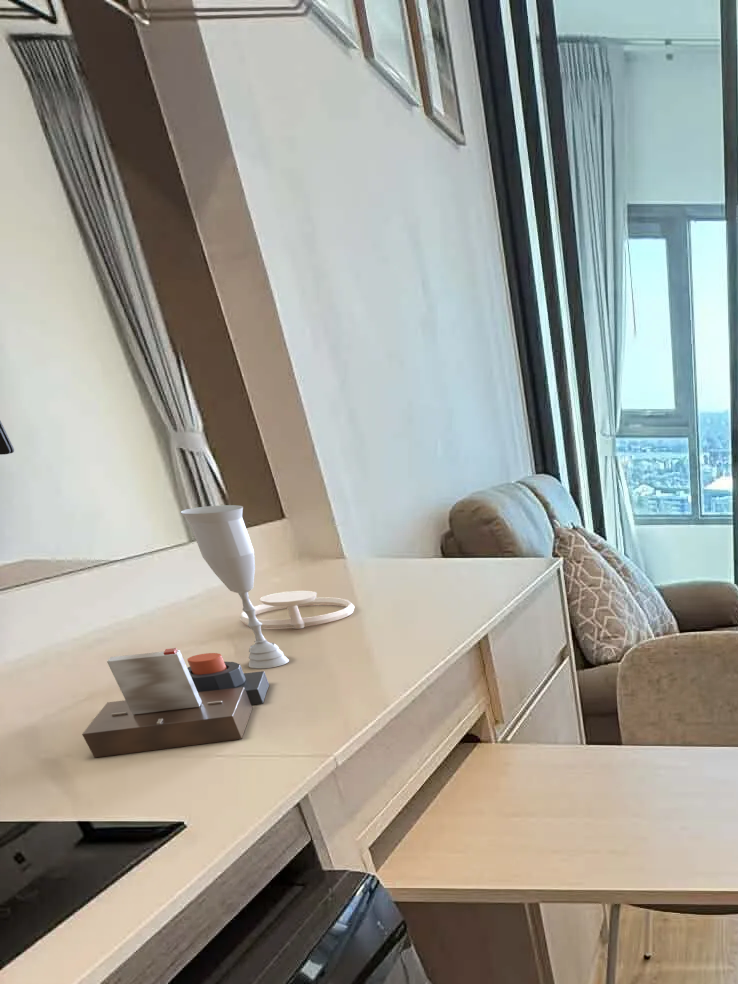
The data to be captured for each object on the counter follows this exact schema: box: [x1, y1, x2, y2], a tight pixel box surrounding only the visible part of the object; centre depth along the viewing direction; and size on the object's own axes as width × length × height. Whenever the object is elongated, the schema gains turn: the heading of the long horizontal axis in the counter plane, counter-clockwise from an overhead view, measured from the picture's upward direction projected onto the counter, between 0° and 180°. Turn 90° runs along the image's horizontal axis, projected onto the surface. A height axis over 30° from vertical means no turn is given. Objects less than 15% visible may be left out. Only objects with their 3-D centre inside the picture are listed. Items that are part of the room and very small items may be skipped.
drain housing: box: [187, 661, 270, 706], centre depth 101 cm, size 10×8×4 cm
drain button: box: [186, 652, 227, 675], centre depth 100 cm, size 4×4×2 cm
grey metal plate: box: [106, 647, 202, 715], centre depth 90 cm, size 6×2×6 cm, turn 111°
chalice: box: [180, 504, 290, 669], centre depth 109 cm, size 7×7×18 cm
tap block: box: [81, 687, 253, 758], centre depth 93 cm, size 14×11×3 cm
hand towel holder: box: [239, 590, 355, 630], centre depth 133 cm, size 17×4×21 cm
